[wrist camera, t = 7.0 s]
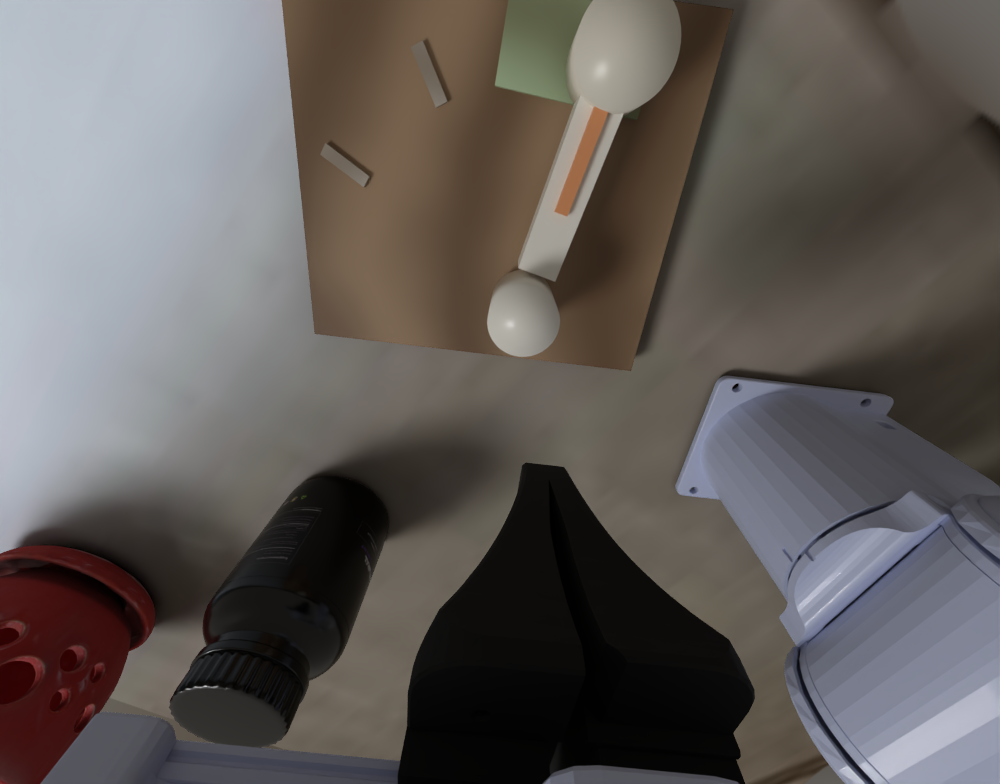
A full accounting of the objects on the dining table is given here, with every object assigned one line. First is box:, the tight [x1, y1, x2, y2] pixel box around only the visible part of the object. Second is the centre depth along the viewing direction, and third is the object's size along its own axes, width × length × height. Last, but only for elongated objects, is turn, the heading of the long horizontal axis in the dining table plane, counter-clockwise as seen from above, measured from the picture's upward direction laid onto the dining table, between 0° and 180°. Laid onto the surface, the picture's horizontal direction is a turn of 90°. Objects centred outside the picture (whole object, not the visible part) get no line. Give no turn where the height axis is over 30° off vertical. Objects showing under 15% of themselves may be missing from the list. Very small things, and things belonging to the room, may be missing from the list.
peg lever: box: [487, 0, 681, 357], centre depth 15 cm, size 12×3×3 cm, turn 161°
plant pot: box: [0, 545, 155, 784], centre depth 26 cm, size 13×13×12 cm
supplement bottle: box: [169, 476, 389, 748], centre depth 22 cm, size 7×7×12 cm
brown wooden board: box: [282, 0, 734, 371], centre depth 18 cm, size 16×14×1 cm
